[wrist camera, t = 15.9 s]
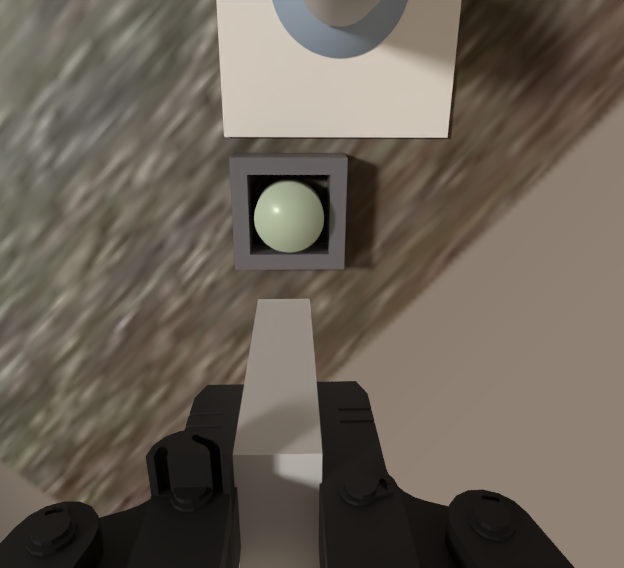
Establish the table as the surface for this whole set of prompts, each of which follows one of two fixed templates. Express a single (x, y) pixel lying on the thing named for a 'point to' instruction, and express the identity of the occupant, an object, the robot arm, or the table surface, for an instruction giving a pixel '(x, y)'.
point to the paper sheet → (337, 70)
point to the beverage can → (340, 10)
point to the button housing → (288, 164)
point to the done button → (289, 215)
